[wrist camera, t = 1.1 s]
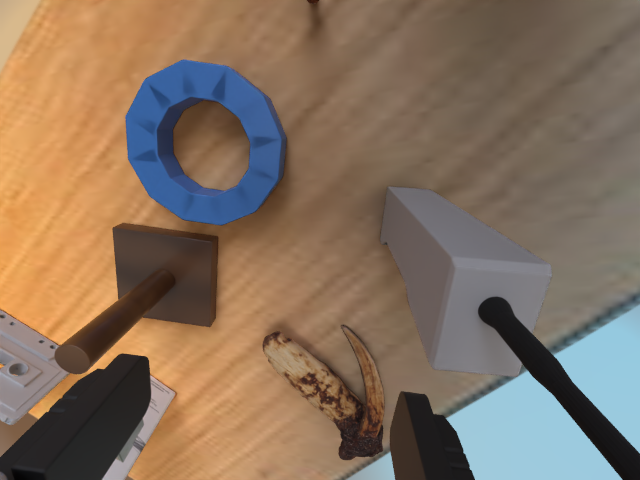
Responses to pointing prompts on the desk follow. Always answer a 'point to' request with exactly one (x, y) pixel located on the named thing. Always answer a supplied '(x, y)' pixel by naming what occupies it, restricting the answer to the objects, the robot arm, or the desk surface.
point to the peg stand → (149, 289)
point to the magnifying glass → (313, 1)
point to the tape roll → (157, 141)
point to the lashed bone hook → (334, 392)
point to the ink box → (141, 431)
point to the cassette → (25, 368)
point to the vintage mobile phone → (484, 305)
